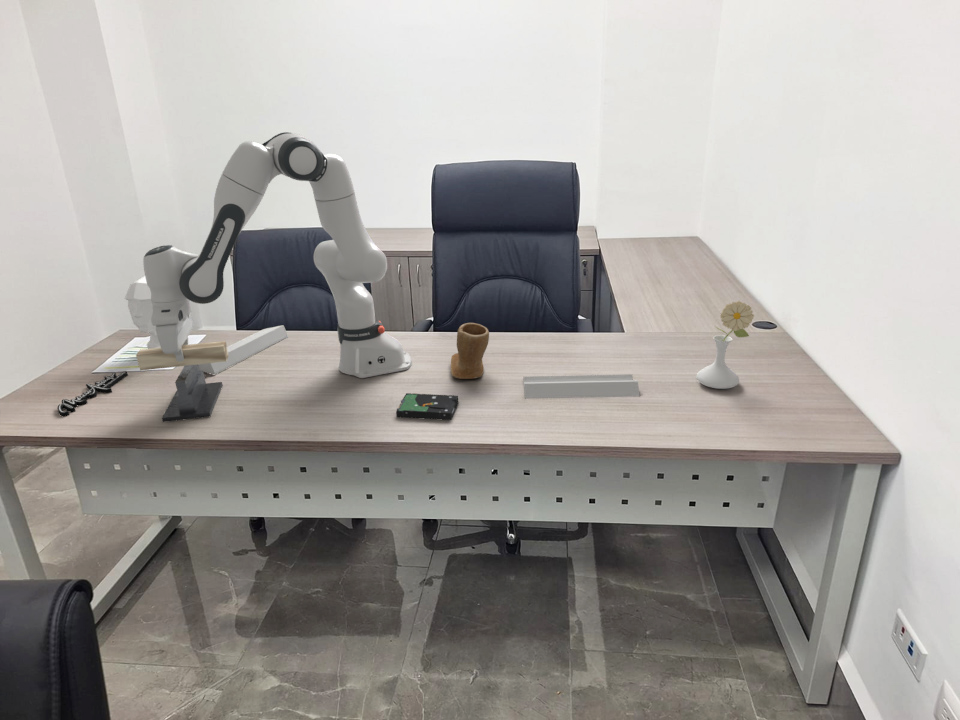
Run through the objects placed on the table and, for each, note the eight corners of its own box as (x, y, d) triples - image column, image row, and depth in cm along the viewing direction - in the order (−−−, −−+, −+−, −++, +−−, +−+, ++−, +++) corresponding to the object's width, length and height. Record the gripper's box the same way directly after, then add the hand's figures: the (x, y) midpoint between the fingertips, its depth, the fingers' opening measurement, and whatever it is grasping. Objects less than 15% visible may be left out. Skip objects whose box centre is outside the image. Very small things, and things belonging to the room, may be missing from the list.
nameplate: (78, 412, 171) (43, 412, 172) (79, 417, 172) (44, 417, 172) (134, 371, 196) (103, 371, 197) (135, 375, 197) (105, 376, 198)
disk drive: (458, 404, 173) (406, 401, 175) (458, 395, 172) (405, 392, 174) (451, 422, 163) (396, 419, 165) (451, 412, 162) (395, 409, 164)
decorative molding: (194, 379, 199) (216, 375, 194) (188, 365, 198) (209, 361, 193) (268, 341, 228) (288, 337, 223) (263, 329, 226) (283, 325, 222)
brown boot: (490, 381, 184) (489, 333, 178) (449, 382, 184) (447, 334, 178) (489, 360, 198) (488, 315, 192) (451, 362, 198) (449, 316, 192)
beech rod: (144, 364, 172) (140, 349, 170) (228, 355, 176) (225, 340, 174) (140, 370, 169) (136, 354, 167) (226, 361, 172) (223, 346, 171)
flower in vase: (688, 385, 177) (697, 300, 168) (706, 372, 185) (716, 290, 175) (734, 398, 169) (747, 309, 159) (751, 384, 177) (764, 298, 167)
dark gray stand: (222, 385, 187) (215, 353, 183) (210, 416, 169) (202, 382, 165) (179, 390, 185) (172, 358, 181) (162, 422, 167) (153, 387, 163)
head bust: (125, 366, 203) (102, 282, 192) (160, 344, 220) (141, 266, 209) (170, 368, 201) (149, 283, 190) (202, 345, 218) (184, 266, 207)
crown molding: (630, 380, 183) (631, 369, 182) (639, 399, 172) (640, 387, 171) (523, 382, 184) (523, 370, 183) (525, 401, 173) (525, 389, 172)
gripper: (168, 297, 175) (179, 344, 180) (148, 321, 156) (161, 372, 162) (192, 295, 176) (202, 342, 181) (176, 319, 158) (187, 369, 163)
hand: (183, 356), depth 171 cm, fingers closed on beech rod, 4 cm apart
